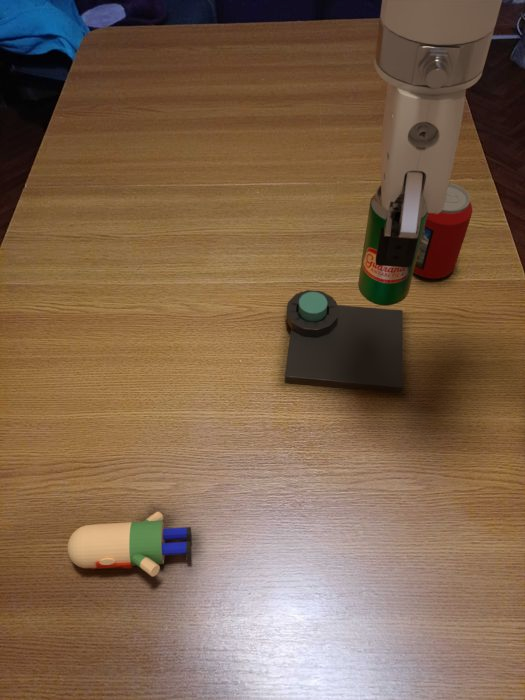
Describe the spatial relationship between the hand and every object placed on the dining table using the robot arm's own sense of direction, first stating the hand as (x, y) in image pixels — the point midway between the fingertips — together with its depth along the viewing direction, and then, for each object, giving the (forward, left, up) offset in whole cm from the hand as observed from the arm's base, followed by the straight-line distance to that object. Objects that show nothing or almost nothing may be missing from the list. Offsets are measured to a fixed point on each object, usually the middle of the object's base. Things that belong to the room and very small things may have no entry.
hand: (393, 239), depth 57 cm
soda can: (0, 0, -7) cm, 7 cm away
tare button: (+7, -8, -20) cm, 23 cm away
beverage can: (-8, -20, -23) cm, 32 cm away
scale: (+3, -4, -23) cm, 23 cm away
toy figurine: (+23, +24, -23) cm, 40 cm away
